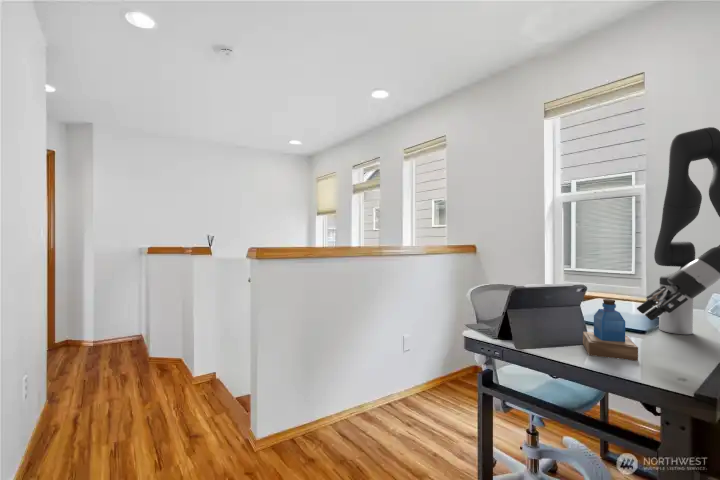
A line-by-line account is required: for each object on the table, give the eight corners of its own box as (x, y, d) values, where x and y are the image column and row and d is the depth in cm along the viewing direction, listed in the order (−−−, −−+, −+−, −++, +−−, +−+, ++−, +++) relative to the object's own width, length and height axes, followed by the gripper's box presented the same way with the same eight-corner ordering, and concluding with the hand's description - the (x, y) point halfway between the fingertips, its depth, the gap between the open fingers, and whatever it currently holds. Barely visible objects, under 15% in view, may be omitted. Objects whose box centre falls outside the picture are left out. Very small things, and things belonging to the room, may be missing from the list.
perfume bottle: (625, 341, 105) (625, 302, 105) (601, 340, 107) (602, 301, 106) (615, 335, 111) (615, 298, 111) (593, 334, 112) (593, 297, 112)
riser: (582, 343, 117) (582, 330, 117) (626, 347, 112) (626, 334, 112) (589, 355, 106) (589, 341, 106) (638, 360, 101) (638, 346, 101)
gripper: (672, 266, 107) (626, 300, 112) (692, 271, 94) (639, 310, 100) (694, 284, 105) (647, 318, 110) (718, 292, 92) (663, 330, 97)
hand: (643, 314), depth 105 cm, fingers open, 8 cm apart
